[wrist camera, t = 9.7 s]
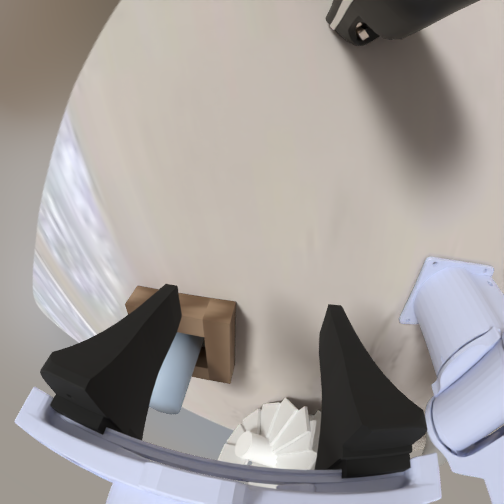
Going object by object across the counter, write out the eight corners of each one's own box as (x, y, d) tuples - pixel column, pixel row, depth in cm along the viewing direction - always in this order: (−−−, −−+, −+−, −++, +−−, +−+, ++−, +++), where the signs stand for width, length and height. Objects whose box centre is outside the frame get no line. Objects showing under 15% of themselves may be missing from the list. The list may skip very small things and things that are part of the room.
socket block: (235, 301, 27) (229, 323, 24) (234, 363, 33) (230, 383, 30) (137, 285, 28) (125, 304, 25) (154, 348, 34) (146, 365, 31)
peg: (204, 319, 29) (175, 399, 21) (207, 343, 31) (182, 417, 23) (169, 313, 29) (134, 387, 21) (174, 337, 31) (145, 407, 23)
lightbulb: (421, 417, 38) (429, 467, 29) (448, 410, 37) (458, 457, 27) (413, 428, 41) (419, 474, 32) (439, 422, 40) (446, 466, 30)
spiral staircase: (276, 363, 38) (379, 412, 42) (211, 432, 40) (318, 467, 44) (305, 459, 20) (424, 477, 24) (209, 520, 22) (341, 533, 26)
